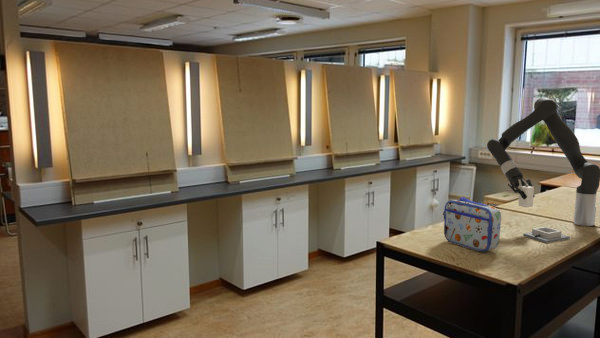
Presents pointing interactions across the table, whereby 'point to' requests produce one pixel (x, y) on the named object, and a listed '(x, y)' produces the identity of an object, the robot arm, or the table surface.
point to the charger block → (529, 193)
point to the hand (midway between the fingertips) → (529, 197)
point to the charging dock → (546, 235)
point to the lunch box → (472, 224)
